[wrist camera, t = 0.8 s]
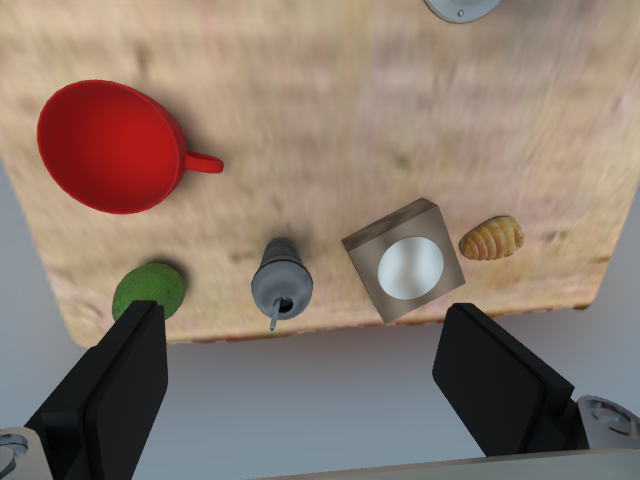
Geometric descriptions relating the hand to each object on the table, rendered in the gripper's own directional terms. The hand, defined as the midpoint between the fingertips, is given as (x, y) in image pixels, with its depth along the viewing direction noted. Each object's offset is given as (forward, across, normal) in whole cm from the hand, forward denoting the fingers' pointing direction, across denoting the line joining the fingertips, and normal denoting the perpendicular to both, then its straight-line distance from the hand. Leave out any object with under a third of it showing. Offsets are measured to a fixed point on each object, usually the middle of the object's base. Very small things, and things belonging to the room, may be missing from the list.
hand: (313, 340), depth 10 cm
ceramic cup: (+37, +15, -3) cm, 40 cm away
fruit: (+37, +16, +15) cm, 43 cm away
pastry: (+36, -35, +6) cm, 51 cm away
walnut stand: (+36, -20, +10) cm, 42 cm away
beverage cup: (+37, -1, +10) cm, 38 cm away
